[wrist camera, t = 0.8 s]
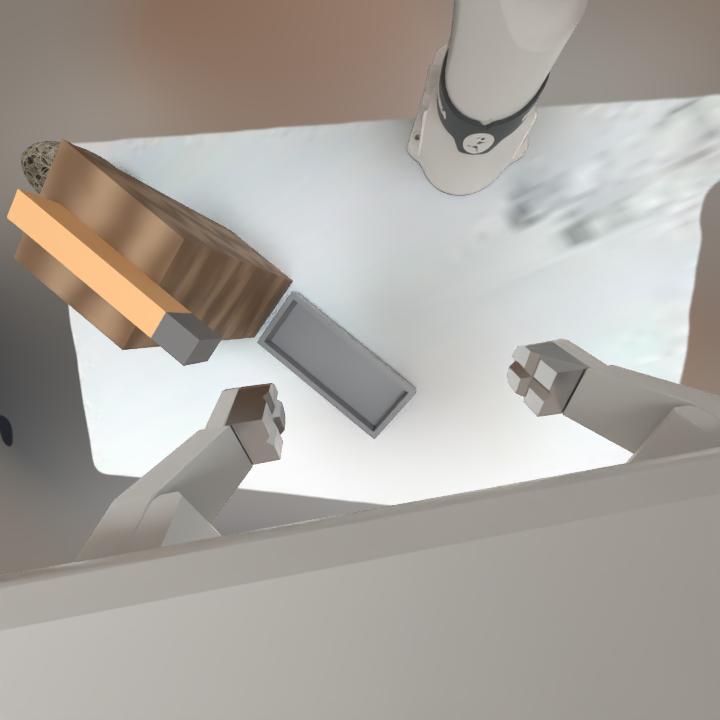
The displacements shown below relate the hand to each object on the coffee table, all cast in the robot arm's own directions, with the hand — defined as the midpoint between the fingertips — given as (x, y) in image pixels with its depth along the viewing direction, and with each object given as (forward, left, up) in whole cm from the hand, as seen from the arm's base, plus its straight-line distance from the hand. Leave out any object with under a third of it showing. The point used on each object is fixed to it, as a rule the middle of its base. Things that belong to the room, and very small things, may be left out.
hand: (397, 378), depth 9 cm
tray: (+7, -11, -41) cm, 43 cm away
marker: (-3, -28, -15) cm, 32 cm away
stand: (-6, -32, -41) cm, 53 cm away
